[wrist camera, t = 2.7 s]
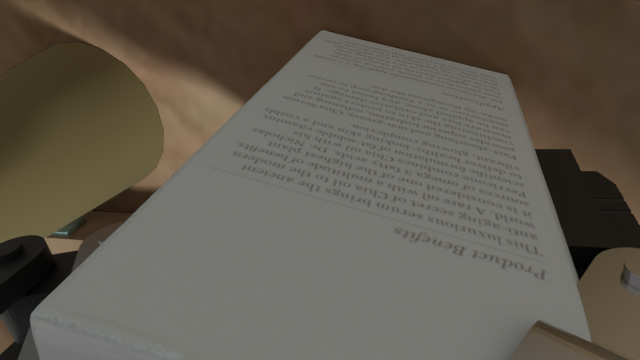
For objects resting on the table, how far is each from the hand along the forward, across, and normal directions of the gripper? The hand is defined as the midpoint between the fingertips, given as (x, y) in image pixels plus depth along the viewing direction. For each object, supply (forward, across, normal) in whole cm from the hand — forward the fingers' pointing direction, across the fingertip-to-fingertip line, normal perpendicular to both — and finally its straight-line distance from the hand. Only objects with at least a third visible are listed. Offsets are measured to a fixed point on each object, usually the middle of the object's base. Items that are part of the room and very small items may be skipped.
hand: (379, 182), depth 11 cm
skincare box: (+5, 0, 0) cm, 5 cm away
